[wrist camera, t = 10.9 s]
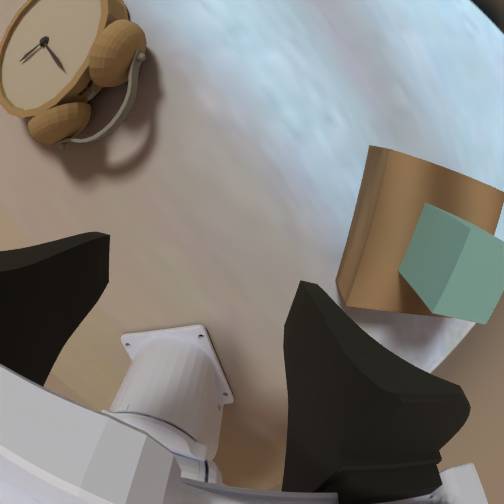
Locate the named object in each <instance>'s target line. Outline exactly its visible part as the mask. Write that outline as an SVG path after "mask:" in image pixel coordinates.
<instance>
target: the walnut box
mask: <svg viewBox="0 0 504 504" xmlns="http://www.w3.org/2000/svg"><path fill="white" fill-rule="evenodd" d="M425 203H428V204H430V205H432V206H435V207H437V208H439V209H442V210H444V211H446V212H449V213H451V214H453V215H455V216H458V217H460V218H462V219H464V220H466V221H468V222H471V223H473V224H475V225H477V226H478V227H480V228H482V229H483V230H485V231H487V232H488V233H490V234H492V235H493V236H494V233H495V230H496V227H497V224H498V220H499V217H500V214H501V210H502V206H503V203H504V192H503V191H500V190H498V189H496V188H494V187H492V186H489V185H487V184H485V183H482V182H480V181H478V180H475V179H473V178H470V177H468V176H465V175H463V174H460V173H458V172H455V171H453V170H450V169H447V168H445V167H442V166H439V165H436V164H434V163H431V162H428V161H425V160H422V159H419V158H416V157H413V156H410V155H407V154H404V153H401V152H397V151H394V150H391V149H386V148H381V147H376V146H371V145H369V150H368V155H367V159H366V164H365V169H364V173H363V178H362V182H361V187H360V191H359V195H358V199H357V203H356V208H355V212H354V216H353V219H352V223H351V227H350V231H349V235H348V238H347V242H346V246H345V249H344V253H343V257H342V260H341V264H340V267H339V270H338V274H337V277H336V283H337V285H338V288H339V290H340V292H341V295H342V297H343V300H344V302H345V305H346V306H349V307H357V308H365V309H373V310H382V311H391V312H400V313H409V314H418V315H428V316H439V317H448V316H443V315H439V314H434V313H432V312H431V311H430V309H429V308H428V307H427V306H426V304H425V303H424V302H423V300H422V299H421V298H420V297H419V295H418V294H417V293H416V292H415V290H414V289H413V288H412V287H411V285H410V284H409V283H408V282H407V281H406V279H405V278H404V277H403V276H402V275H401V273H400V272H399V271H398V270H399V268H400V265H401V263H402V261H403V258H404V256H405V253H406V251H407V249H408V246H409V244H410V241H411V239H412V236H413V234H414V231H415V229H416V226H417V223H418V221H419V218H420V215H421V213H422V210H423V207H424V204H425ZM449 318H453V317H449Z"/></svg>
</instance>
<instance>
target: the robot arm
mask: <svg viewBox="0 0 504 504" xmlns="http://www.w3.org/2000/svg"><path fill="white" fill-rule="evenodd" d="M109 245H110V235H108V234H104V233H100V232H88V233H83V234H79V235H75V236H71V237H67V238H63V239H60V240H56V241H52V242H48V243H44V244H39V245H35V246H31V247H26V248H21V249H15V250H8V251H0V504H488V502H487V499H486V496H485V493H484V491H483V488H482V485H481V482H480V480H479V477H478V474H477V472H476V469H475V467H474V464H473V463H467V464H463V465H459V466H454V467H450V468H447V469H445V470H442V471H441V472H439V471H438V468H437V465H436V464H438V463H439V462H440V461H441V459H442V458H441V455H440V452H439V450H440V449H441V448H442V447H443V446H444V445H445V444H446V443H447V442H448V441H449V440H450V439H451V438H452V437H453V436H454V435H455V434H456V433H457V432H458V431H459V430H460V429H461V427H462V426H463V425H464V423H465V422H466V420H467V418H468V416H469V413H470V408H471V407H470V404H469V402H468V400H467V398H466V396H465V394H464V392H463V390H462V389H461V387H460V386H459V385H456V384H454V383H451V382H449V381H446V380H444V379H441V378H439V377H436V376H434V375H431V374H429V373H427V372H425V371H423V370H421V369H419V368H417V367H415V366H414V365H412V364H410V363H408V362H406V361H405V360H403V359H402V358H400V357H398V356H397V355H395V354H394V353H392V352H391V351H389V350H388V349H386V348H385V347H383V346H382V345H381V344H379V343H378V342H377V341H376V340H374V339H373V338H372V337H370V336H369V335H368V334H367V333H366V332H364V331H363V330H362V329H361V328H360V327H359V326H358V325H357V324H356V323H355V322H354V321H353V320H352V319H351V318H350V317H348V316H347V315H346V313H345V312H344V311H343V310H342V309H341V308H340V307H339V306H338V305H337V304H336V303H335V302H334V301H333V300H332V299H331V298H330V297H329V296H328V294H327V293H326V292H325V291H324V290H323V289H322V288H321V287H320V286H318V285H317V284H314V283H310V282H305V281H301V280H300V283H299V286H298V289H297V292H296V295H295V298H294V300H293V303H292V306H291V309H290V311H289V314H288V317H287V320H286V322H285V325H284V345H283V349H284V360H285V370H286V380H287V390H288V432H287V447H286V458H285V468H284V477H283V485H282V491H281V492H279V491H267V490H256V489H247V488H239V487H232V486H226V485H222V474H221V472H220V470H219V469H218V467H217V465H216V463H215V462H214V461H212V460H213V459H214V457H215V455H216V453H217V450H218V444H219V437H220V430H221V422H222V415H223V408H224V404H231V403H233V402H234V397H233V394H232V392H231V390H230V387H229V385H228V383H227V380H226V378H225V375H224V373H223V371H222V368H221V366H220V363H219V361H218V358H217V356H216V353H215V351H214V348H213V346H212V343H211V341H210V338H209V336H208V333H207V330H206V328H205V327H204V326H203V325H192V326H185V327H178V328H170V329H163V330H155V331H147V332H138V333H129V334H123V335H122V337H121V341H122V343H123V345H124V347H125V349H126V351H127V352H128V354H129V356H130V358H131V360H132V363H131V365H130V367H129V369H128V371H127V373H126V376H125V378H124V380H123V382H122V384H121V386H120V388H119V390H118V392H117V394H116V396H115V398H114V400H113V403H112V405H111V407H110V409H109V411H106V410H102V411H101V412H100V411H97V410H95V409H92V408H90V407H87V406H85V405H82V404H80V403H77V402H75V401H73V400H71V399H68V398H66V397H64V396H62V395H59V394H57V393H55V392H53V391H51V390H49V389H47V388H45V387H43V386H44V383H45V381H46V379H47V377H48V375H49V373H50V371H51V369H52V367H53V365H54V363H55V361H56V359H57V357H58V355H59V353H60V352H61V350H62V348H63V346H64V345H65V343H66V342H67V340H68V339H69V337H70V336H71V335H72V334H73V332H74V331H75V330H76V328H77V327H78V326H79V324H80V323H81V322H82V321H83V319H84V318H85V317H86V316H87V314H88V313H89V312H90V310H91V309H92V308H93V307H94V305H95V304H96V303H97V301H98V300H99V298H100V296H101V295H102V293H103V291H104V290H105V288H106V286H107V284H108V282H109ZM200 335H203V336H204V337H201V336H200ZM128 343H129V344H130V345H129V344H128Z"/></svg>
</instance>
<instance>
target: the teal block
mask: <svg viewBox="0 0 504 504" xmlns="http://www.w3.org/2000/svg"><path fill="white" fill-rule="evenodd" d="M398 271H399V272H400V273H401V275H402V276H403V277H404V278H405V279H406V281H407V282H408V283H409V284H410V285H411V287H412V288H413V289H414V290H415V292H416V293H417V294H418V295H419V297H420V298H421V299H422V300H423V302H424V303H425V304H426V306H427V307H428V308H429V309H430V311H431V312H432V313H434V314H439V315H443V316H448V317H453V318H457V319H462V320H467V321H471V322H476V323H481V324H486V323H487V321H488V319H489V317H490V316H491V314H492V312H493V310H494V308H495V306H496V305H497V303H498V301H499V299H500V296H501V295H502V293H503V291H504V242H503V241H501V240H500V239H498V238H497V237H495V236H493V235H492V234H490V233H488V232H487V231H485V230H483V229H482V228H480V227H478V226H477V225H475V224H473V223H471V222H468V221H466V220H464V219H462V218H460V217H458V216H455V215H453V214H451V213H449V212H446V211H444V210H442V209H439V208H437V207H435V206H432V205H430V204H428V203H425V204H424V207H423V210H422V213H421V215H420V218H419V221H418V223H417V226H416V229H415V231H414V234H413V236H412V239H411V241H410V244H409V246H408V249H407V251H406V253H405V256H404V258H403V261H402V263H401V265H400V268H399V270H398Z"/></svg>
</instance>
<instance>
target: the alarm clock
mask: <svg viewBox="0 0 504 504" xmlns="http://www.w3.org/2000/svg"><path fill="white" fill-rule="evenodd" d="M145 52H146V38H145V34H144V32H143V30H142V29H141V28H140V26H138V25H137V24H136V23H134V22H131V21H129V19H128V11H127V7H126V5H125V4H124V2H123V1H122V0H28V1H27V2H26V3H25V4H24V5H23V6H22V7H21V8H20V9H19V11H18V12H17V14H16V15H15V17H14V18H13V20H12V21H11V23H10V25H9V26H8V28H7V30H6V32H5V34H4V37H3V39H2V41H1V44H0V104H1V105H2V106H3V107H4V109H5V110H6V111H7V112H8V113H9V114H12V115H15V116H17V117H20V118H27V117H33V118H32V119H31V120H30V121H29V122H28V128H29V132H30V134H31V136H32V137H33V139H35V140H36V141H38V142H40V143H43V144H54V145H58V148H59V150H63V149H65V146H66V143H67V142H70V141H72V142H78V143H82V142H95V141H98V140H101V139H103V138H105V137H106V136H108V135H109V134H111V133H112V132H113V131H114V130H116V129H117V128H118V127H119V126H120V125H121V123H122V122H123V121H124V120H125V118H126V117H127V115H128V114H129V112H130V110H131V109H132V107H133V105H134V102H135V99H136V96H137V90H138V75H139V68H140V65H141V64H142V61H145V59H146V56H145ZM128 80H129V83H128V89H127V93H126V96H125V99H124V102H123V104H122V105H121V107H120V109H119V111H118V113H117V114H116V115H115V117H114V118H113V119H112V121H111V122H110V123H109V124H108V125H107V126H106V127H104V128H103V129H102V130H101V131H99V132H98V133H96V134H95V135H93V136H91V137H88V138H85V139H81V138H73V137H75V136H76V135H78V134H79V133H81V132H82V131H83V130H84V129H85V127H86V126H87V124H88V122H89V120H90V117H91V106H90V104H88V103H87V102H88V101H89V100H91V99H92V98H93V97H94V96H95V95H96V94H97V93H98V92H99V91H100V90H101V89H102V87H115V86H118V85H121V84H123V83H125V82H126V81H128Z"/></svg>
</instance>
